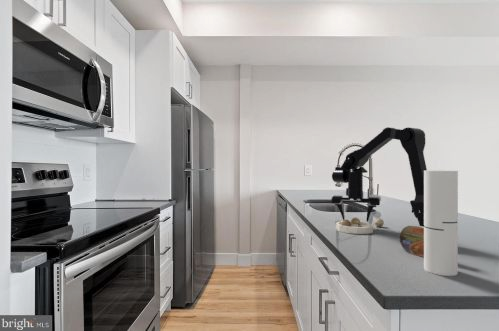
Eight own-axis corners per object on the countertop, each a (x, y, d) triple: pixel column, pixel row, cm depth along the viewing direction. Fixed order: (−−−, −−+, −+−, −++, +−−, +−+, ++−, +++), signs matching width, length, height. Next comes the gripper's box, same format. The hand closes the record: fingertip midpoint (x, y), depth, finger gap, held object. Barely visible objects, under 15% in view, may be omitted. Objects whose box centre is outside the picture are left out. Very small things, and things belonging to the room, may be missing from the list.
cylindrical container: (463, 276, 72) (463, 171, 72) (430, 274, 73) (430, 170, 73) (449, 266, 79) (449, 170, 79) (419, 265, 80) (419, 170, 80)
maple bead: (383, 227, 127) (383, 219, 127) (374, 227, 129) (374, 218, 129) (383, 226, 131) (383, 217, 131) (374, 225, 132) (374, 217, 132)
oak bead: (361, 226, 127) (361, 217, 127) (357, 227, 125) (358, 218, 124) (353, 224, 130) (353, 216, 130) (349, 226, 127) (349, 217, 127)
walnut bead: (350, 230, 120) (350, 220, 120) (341, 229, 121) (341, 220, 121) (351, 228, 123) (351, 219, 123) (342, 227, 124) (342, 218, 124)
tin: (399, 250, 94) (399, 223, 94) (406, 249, 95) (406, 222, 95) (448, 265, 80) (448, 233, 80) (455, 263, 82) (455, 232, 82)
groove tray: (372, 235, 114) (372, 228, 114) (334, 231, 120) (334, 225, 120) (373, 228, 127) (373, 222, 127) (339, 225, 133) (338, 219, 133)
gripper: (380, 182, 131) (380, 219, 131) (335, 182, 138) (335, 216, 138) (379, 184, 120) (379, 224, 120) (331, 183, 128) (331, 220, 128)
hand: (355, 220), depth 127 cm, fingers open, 9 cm apart
